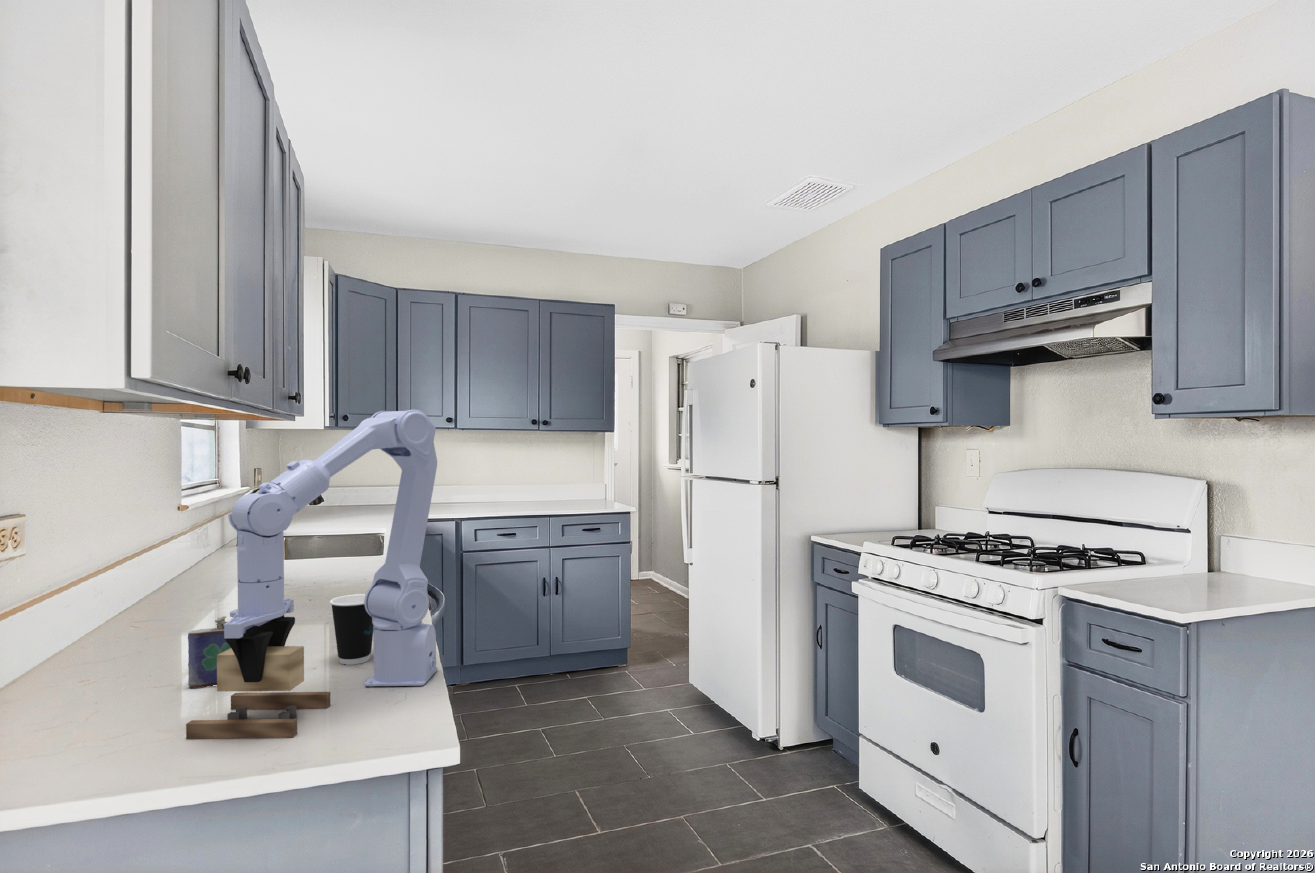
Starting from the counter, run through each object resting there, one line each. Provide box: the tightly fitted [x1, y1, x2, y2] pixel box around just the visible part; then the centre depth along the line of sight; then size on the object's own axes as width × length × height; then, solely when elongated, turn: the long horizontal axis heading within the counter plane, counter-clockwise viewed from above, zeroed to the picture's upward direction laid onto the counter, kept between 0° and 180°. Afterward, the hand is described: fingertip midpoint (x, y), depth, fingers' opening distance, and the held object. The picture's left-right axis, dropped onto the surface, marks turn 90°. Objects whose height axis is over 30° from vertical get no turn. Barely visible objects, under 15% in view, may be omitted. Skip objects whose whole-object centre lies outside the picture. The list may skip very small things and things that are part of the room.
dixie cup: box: [329, 593, 374, 666], centre depth 128 cm, size 8×8×11 cm
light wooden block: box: [216, 645, 305, 692], centre depth 101 cm, size 10×4×5 cm, turn 90°
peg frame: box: [185, 691, 331, 740], centre depth 101 cm, size 14×11×2 cm
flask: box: [187, 615, 231, 689], centre depth 117 cm, size 9×3×11 cm, turn 109°
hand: (261, 675), depth 101 cm, fingers closed on light wooden block, 4 cm apart
